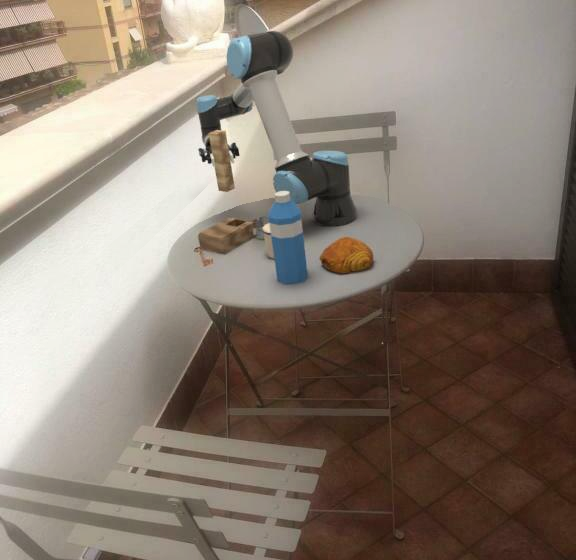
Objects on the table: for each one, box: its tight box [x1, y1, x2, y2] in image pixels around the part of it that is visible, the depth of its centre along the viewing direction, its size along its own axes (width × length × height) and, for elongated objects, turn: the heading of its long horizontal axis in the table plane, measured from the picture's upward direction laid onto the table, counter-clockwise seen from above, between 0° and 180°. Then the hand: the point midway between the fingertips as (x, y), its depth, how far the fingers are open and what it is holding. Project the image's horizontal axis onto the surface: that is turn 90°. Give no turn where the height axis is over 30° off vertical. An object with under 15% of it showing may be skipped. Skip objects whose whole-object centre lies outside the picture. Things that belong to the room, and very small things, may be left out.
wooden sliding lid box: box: [197, 216, 257, 255], centre depth 190 cm, size 16×11×5 cm
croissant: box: [319, 236, 374, 275], centre depth 166 cm, size 14×16×8 cm
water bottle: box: [268, 191, 309, 285], centre depth 158 cm, size 9×9×25 cm
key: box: [193, 246, 214, 267], centre depth 184 cm, size 6×1×15 cm
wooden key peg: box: [209, 129, 236, 193], centre depth 195 cm, size 4×4×20 cm
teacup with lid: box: [262, 222, 275, 260], centre depth 177 cm, size 12×9×12 cm
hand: (223, 160), depth 190 cm, fingers closed on wooden key peg, 6 cm apart
